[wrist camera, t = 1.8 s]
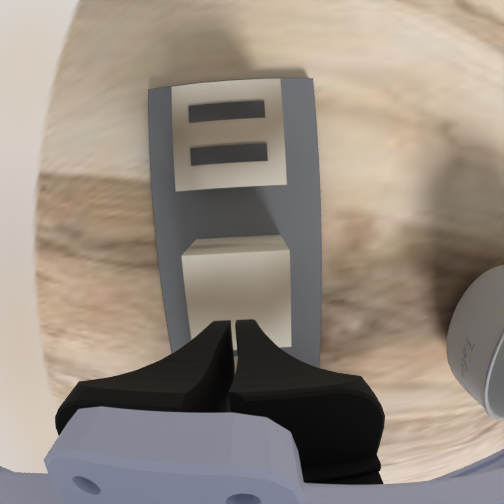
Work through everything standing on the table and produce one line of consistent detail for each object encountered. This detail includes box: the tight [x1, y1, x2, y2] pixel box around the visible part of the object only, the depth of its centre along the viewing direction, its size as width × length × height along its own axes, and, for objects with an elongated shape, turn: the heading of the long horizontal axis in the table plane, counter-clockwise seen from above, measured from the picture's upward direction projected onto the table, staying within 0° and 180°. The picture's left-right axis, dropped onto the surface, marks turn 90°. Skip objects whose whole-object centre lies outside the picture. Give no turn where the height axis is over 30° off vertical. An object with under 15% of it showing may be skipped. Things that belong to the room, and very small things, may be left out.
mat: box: [148, 78, 322, 368], centre depth 20 cm, size 24×10×1 cm, turn 3°
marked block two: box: [171, 79, 287, 191], centre depth 16 cm, size 5×5×5 cm
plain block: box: [181, 235, 291, 350], centre depth 18 cm, size 5×5×4 cm
